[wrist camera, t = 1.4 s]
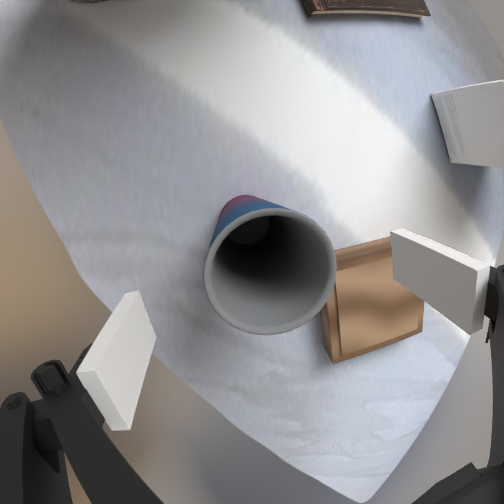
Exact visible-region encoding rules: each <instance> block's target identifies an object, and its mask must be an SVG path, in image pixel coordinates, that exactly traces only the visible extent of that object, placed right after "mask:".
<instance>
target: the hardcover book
mask: <svg viewBox="0 0 504 504" xmlns="http://www.w3.org/2000/svg"><path fill="white" fill-rule="evenodd" d="M302 2H303V5H304V7H305V10H306V13H307V15H308V17H310V15H311V14H330V13H368V14H388V15H400V16H411V17H419V18H421V17H422V16H431V15H430V13H429V10H428V8H427V6H426V4H425V1H424V0H302Z"/></svg>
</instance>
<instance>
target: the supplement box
mask: <svg viewBox="0 0 504 504" xmlns="http://www.w3.org/2000/svg"><path fill="white" fill-rule="evenodd" d="M431 96H432V99H433V102H434V105H435V108H436V111H437V114H438V117H439V121H440V124H441V128H442V131H443V135H444V139H445V142H446V146H447V150H448V154H449V159H450V162H451V163H458V164H469V165H479V166H487V167H495V168H503V169H504V80H499V81H492V82H486V83H480V84H474V85H469V86H464V87H459V88H454V89H449V90H445V91H440V92H435V93H432V94H431Z"/></svg>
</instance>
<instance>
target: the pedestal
mask: <svg viewBox="0 0 504 504" xmlns="http://www.w3.org/2000/svg"><path fill="white" fill-rule="evenodd" d="M334 252H335V256H336V263H337V270H336V280H335V283H334V287H333V290H332V292H331V294H330V296H329V299H328V301H327V302H326V303H325V305H324V306H323V308H322V309H321V317H322V326H323V334H324V344H325V350H326V352H327V354H328V355H329V357H330V359H331V361H332V363H333V364H334V363H337V362H341V361H344V360H347V359H350V358H353V357H356V356H359V355H362V354H365V353H368V352H371V351H373V350H376V349H379V348H382V347H384V346H387V345H390V344H393V343H395V342H398V341H400V340H403V339H405V338H408V337H410V336H413V335H415V334H418V333H420V332H422V326H423V312H424V301H423V300H422V299H421V298H419V297H418V296H417V295H415V294H414V293H412V292H411V291H410V290H408V289H407V288H405V287H404V286H402V285H401V284H400V283H398V282H397V281H395V280H394V279H393V265H392V247H391V236H390V237H386V238H382V239H378V240H375V241H371V242H367V243H363V244H359V245H355V246H351V247H347V248H343V249H339V250H335V251H334Z"/></svg>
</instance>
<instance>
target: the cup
mask: <svg viewBox="0 0 504 504" xmlns="http://www.w3.org/2000/svg"><path fill="white" fill-rule="evenodd" d="M336 270H337V263H336V256H335V252H334V249H333V246H332V243H331V241H330V239H329V238H328V236H327V235H326V233H325V231H324V230H323V229H322V228H321V227H320V226H319V225H318V224H317V223H316V222H315V221H313V220H312V219H310V218H309V217H307V216H306V215H303V214H301V213H298V212H296V211H293V210H291V209H288V208H285V207H282V206H280V205H277V204H274V203H271V202H268V201H265V200H263V199H260V198H257V197H254V196H249V195H242V196H238V197H235V198H233V199H232V200H230V201H229V202H228V203H227V204H226V205H225V206H224V208H223V209H222V211H221V214H220V217H219V220H218V223H217V226H216V229H215V232H214V235H213V238H212V241H211V244H210V247H209V250H208V253H207V256H206V259H205V265H204V272H203V276H204V287H205V290H206V294H207V297H208V299H209V301H210V303H211V305H212V306H213V308H214V310H215V311H216V312H217V313H218V314H219V315H220V317H221V318H222V319H224V320H225V321H226V322H228V323H229V324H230V325H231V326H233V327H235V328H238V329H240V330H242V331H245V332H248V333H252V334H258V335H274V334H281V333H284V332H288V331H291V330H293V329H296V328H298V327H300V326H302V325H303V324H305V323H306V322H308V321H309V320H311V319H312V318H313V317H314V316H315V315H316V314H317V313H318V312H319V311H320V310H321V309H322V308H323V306H324V305H325V303H326V302H327V301H328V299H329V296H330V294H331V292H332V290H333V287H334V283H335V280H336Z"/></svg>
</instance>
